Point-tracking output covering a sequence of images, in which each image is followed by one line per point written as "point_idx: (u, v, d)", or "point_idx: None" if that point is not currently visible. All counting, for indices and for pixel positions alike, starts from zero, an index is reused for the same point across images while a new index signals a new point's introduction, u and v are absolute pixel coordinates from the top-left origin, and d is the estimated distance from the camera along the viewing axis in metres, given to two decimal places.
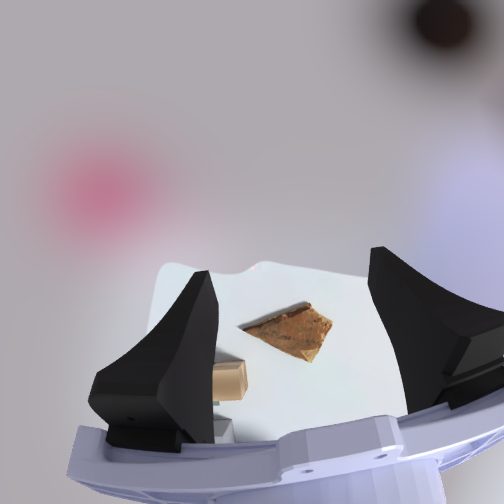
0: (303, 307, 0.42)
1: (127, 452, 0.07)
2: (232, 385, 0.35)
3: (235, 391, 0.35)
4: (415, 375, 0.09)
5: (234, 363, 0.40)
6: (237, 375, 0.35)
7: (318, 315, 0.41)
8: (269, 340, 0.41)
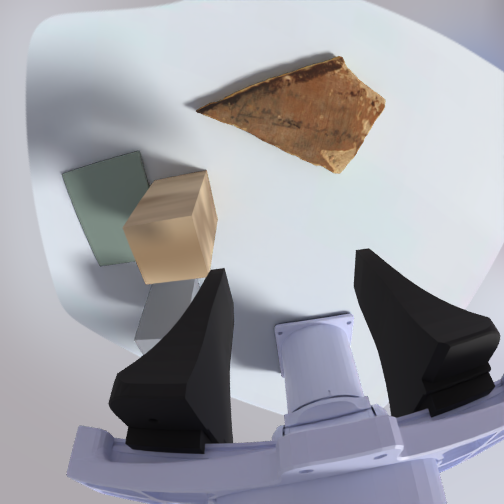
0: (328, 63, 0.16)
1: (148, 454, 0.07)
2: (185, 250, 0.17)
3: (194, 262, 0.17)
4: (398, 380, 0.09)
5: (186, 184, 0.20)
6: (193, 229, 0.16)
7: (359, 83, 0.17)
8: (256, 129, 0.19)
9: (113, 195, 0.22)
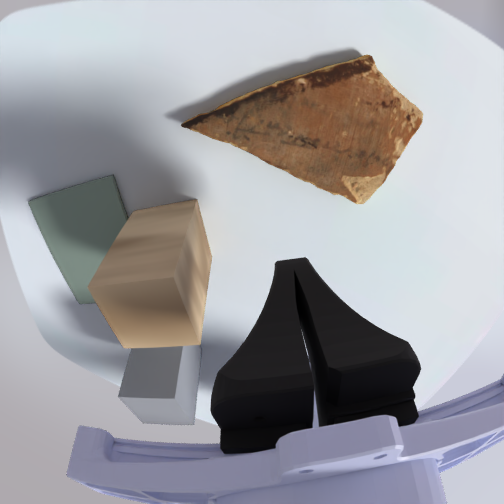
0: (354, 64, 0.12)
1: None
2: (169, 316, 0.12)
3: (180, 329, 0.13)
4: (318, 396, 0.09)
5: (170, 220, 0.15)
6: (176, 293, 0.12)
7: (392, 91, 0.13)
8: (259, 149, 0.15)
9: (86, 228, 0.17)
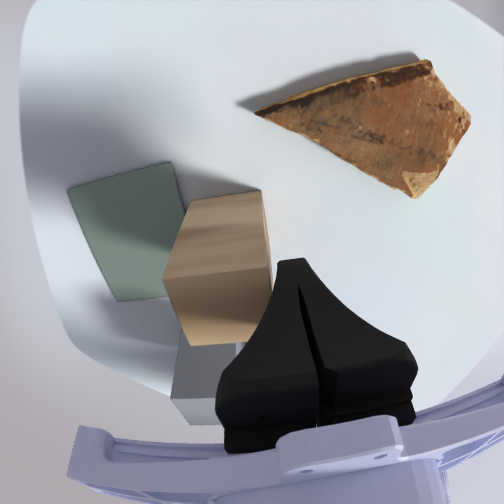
0: (416, 67, 0.12)
1: None
2: (252, 309, 0.12)
3: None
4: None
5: (239, 210, 0.15)
6: (266, 284, 0.12)
7: (447, 94, 0.12)
8: (331, 142, 0.14)
9: (135, 219, 0.17)
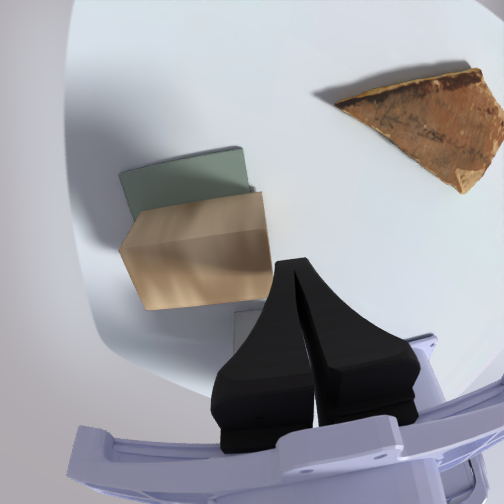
0: (470, 74, 0.12)
1: None
2: None
3: None
4: (318, 396, 0.09)
5: (218, 222, 0.14)
6: None
7: (493, 101, 0.12)
8: (400, 137, 0.14)
9: None
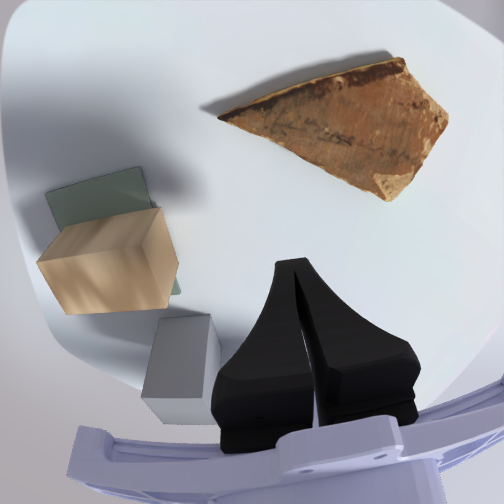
0: (388, 65, 0.12)
1: None
2: None
3: None
4: (318, 396, 0.09)
5: (110, 238, 0.15)
6: (43, 272, 0.15)
7: (422, 93, 0.13)
8: (296, 144, 0.14)
9: None
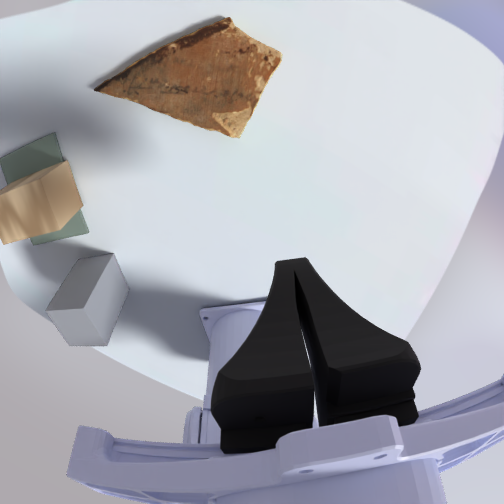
0: (214, 25, 0.15)
1: None
2: None
3: None
4: (318, 396, 0.09)
5: (28, 180, 0.17)
6: None
7: (248, 40, 0.15)
8: (146, 100, 0.17)
9: None
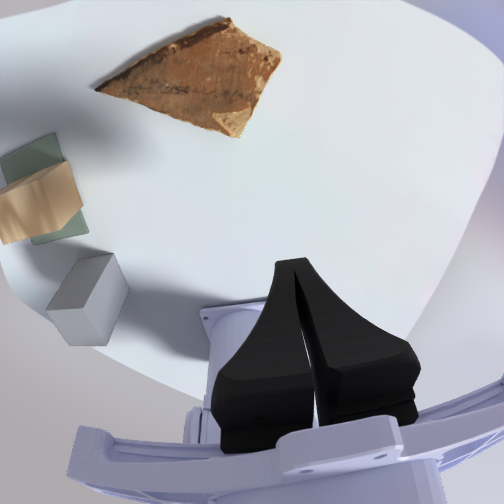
0: (214, 26, 0.15)
1: None
2: None
3: None
4: (318, 396, 0.09)
5: (28, 180, 0.17)
6: None
7: (248, 40, 0.15)
8: (146, 100, 0.17)
9: None
